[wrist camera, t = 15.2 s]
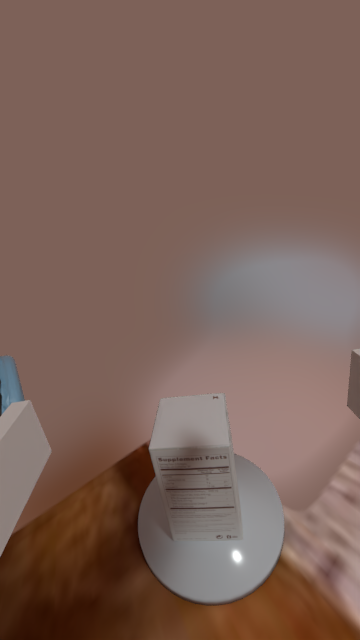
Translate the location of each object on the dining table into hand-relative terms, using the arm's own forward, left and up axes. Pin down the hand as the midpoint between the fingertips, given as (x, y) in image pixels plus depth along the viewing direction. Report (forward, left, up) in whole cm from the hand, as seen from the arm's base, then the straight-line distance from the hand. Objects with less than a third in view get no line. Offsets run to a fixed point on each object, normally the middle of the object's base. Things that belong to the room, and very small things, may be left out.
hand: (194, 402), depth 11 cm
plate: (-6, +11, -24) cm, 27 cm away
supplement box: (-6, +11, -24) cm, 27 cm away
